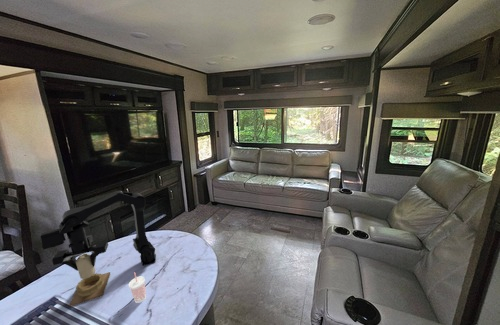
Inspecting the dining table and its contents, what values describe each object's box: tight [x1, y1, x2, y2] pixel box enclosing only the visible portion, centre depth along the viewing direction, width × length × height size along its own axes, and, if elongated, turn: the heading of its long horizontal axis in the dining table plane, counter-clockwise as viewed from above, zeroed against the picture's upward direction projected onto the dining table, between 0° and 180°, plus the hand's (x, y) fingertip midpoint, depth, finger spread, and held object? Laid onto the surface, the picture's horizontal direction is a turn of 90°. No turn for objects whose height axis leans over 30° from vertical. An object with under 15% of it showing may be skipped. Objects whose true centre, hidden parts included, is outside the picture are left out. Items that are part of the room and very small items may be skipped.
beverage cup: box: [128, 271, 147, 304], centre depth 87 cm, size 6×6×14 cm
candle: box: [76, 253, 96, 280], centre depth 90 cm, size 6×6×10 cm
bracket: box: [68, 271, 111, 307], centre depth 94 cm, size 12×14×4 cm
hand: (86, 267), depth 91 cm, fingers closed on candle, 5 cm apart
